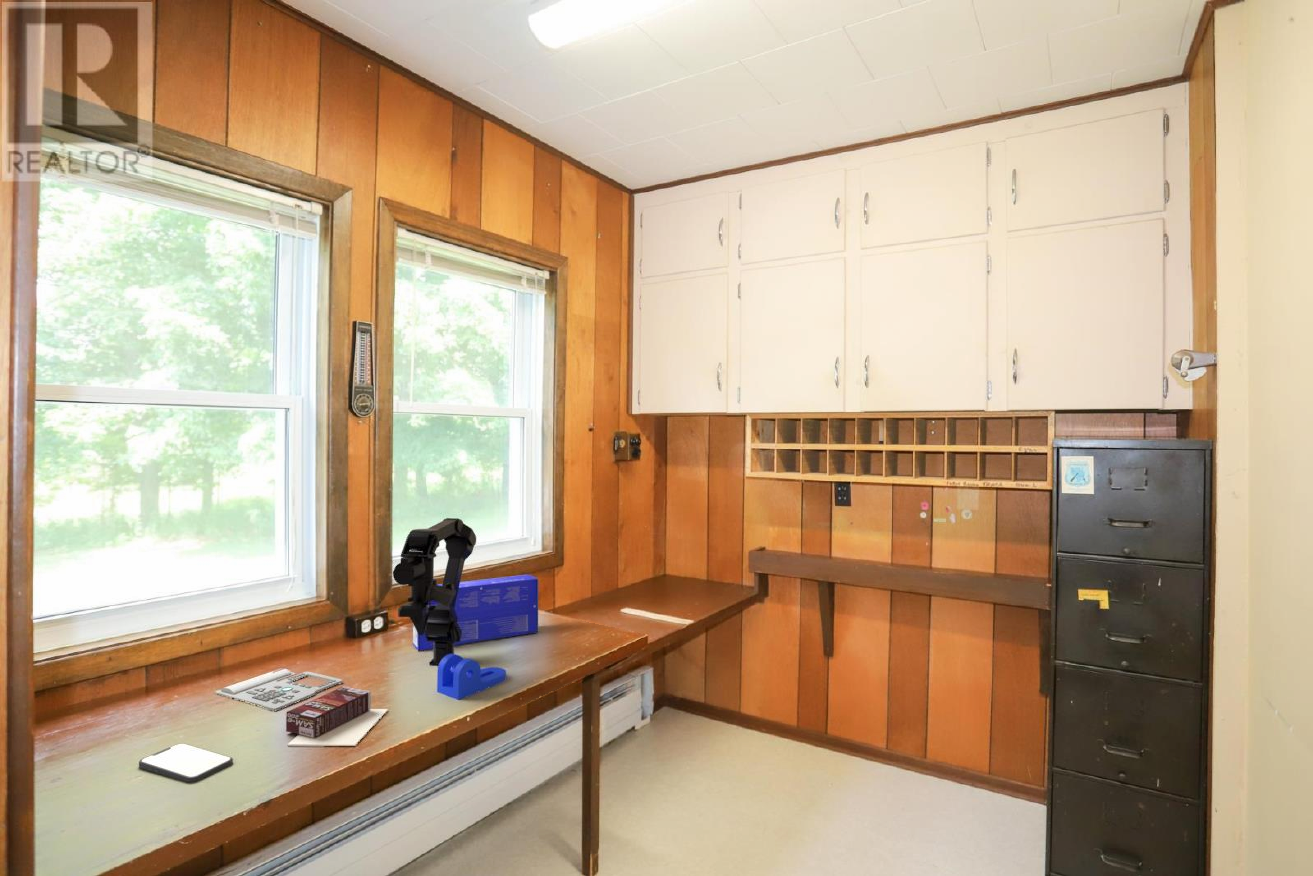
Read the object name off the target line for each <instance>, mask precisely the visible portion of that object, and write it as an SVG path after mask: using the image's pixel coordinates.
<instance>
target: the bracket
mask: <svg viewBox="0 0 1313 876" xmlns="http://www.w3.org/2000/svg"><path fill="white" fill-rule="evenodd" d="M436 679H437V681H436V682H437V683H436V684H437V685H436V688H437V689H436V692H437V693H439V694H441V695H444V696H447V697H448V698H449V697H450V698H451V699H454V700H459V701H460V700H462V699H465V698H467V697H469V696H473V695H475V694H477V693H479V692H478V691H480V692H482V691H484V689H485V690H487V689H486V688H488V687H490V688H493V687H495V686H497V685H496V684H498V683H500V682H503V681H504V680H505V679H506V680H507V670H506V669H504V668H502V667H496V666H491V667H489V666H488V667H484V668H481V665H480V663H479V662H478V661H477V660H475V659H471V658H469V657H468V658H463V657H462V656H461V655H459V654H456V653H454V654H448V655H446V656H445V657H443V658H442V660H441V661H440V663H439V665H438V666H437V678H436ZM506 680H505V681H506ZM505 681H504V682H505ZM504 682H503V683H504ZM500 684H501V683H500ZM494 685H495V686H494ZM498 685H499V684H498ZM492 686H493V687H492ZM488 689H489V688H488ZM476 692H477V693H476ZM474 693H475V694H474ZM466 696H467V697H466ZM464 697H465V698H464Z"/></svg>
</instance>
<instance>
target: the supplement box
mask: <svg viewBox="0 0 1313 876" xmlns="http://www.w3.org/2000/svg"><path fill="white" fill-rule="evenodd" d="M371 694H372V693H371V691H370V690H364V689H358V688H352V687H349V686H340V687H339V688H337V689H335V690H332V691H331V692H330V691H329V692H328V693H326V694H324V695H321V696H319V697H317V698H314V699H312V700H310V701H308V702H306V703H304V704H301V705H299V706H297V707H294V708H293V709H290V710H288V711H286V719H285V720H286V722H285V727H286V728H285V732H286V733H293V734H297V735H299V734H301V735H305V736H309V737H312V738H316V737H318V736H320V735H322V734H324V733H326V732H328V731H330V730H332V729H334V728H336V727H338V726H340V725H342V724H344V723H346V722H348V721H350V720H352V719H354V718H356V717H358V716H360V715H362V714H364V713H366V712H368V711H370V709H371V703H372V701H371V697H372V696H371Z"/></svg>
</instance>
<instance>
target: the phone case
mask: <svg viewBox="0 0 1313 876" xmlns="http://www.w3.org/2000/svg"><path fill="white" fill-rule="evenodd" d="M233 761H234V759H233V757H231V756H228V755H225V754H221V753H218V752H214V751H211V750H208V749H205V748H201V747H198V746H194V745H190V744H187V743H183V742H182V743H177V744H174V745H171V746H169V747H167V748H164V749H162V750H160V751H157V752H155V753H153V754H151V755H148V756H145V757H143V758H141V759H140V760H139V761H138V768H139V769H141V770H144V771H147V772H151V773H154V774H155V775H156V774H157V775H160V776H163V777H167V778H171V779H173V780H177V781H180V782H183V783H187V784H192V783H197V782H199V781H201V780H204V779H205V778H207V777H209V776H211V775H214V774H216V773H218V772H220V771H222V770H224V769H226V768H227V767H230V766H232V765H233V763H234V762H233Z"/></svg>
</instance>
